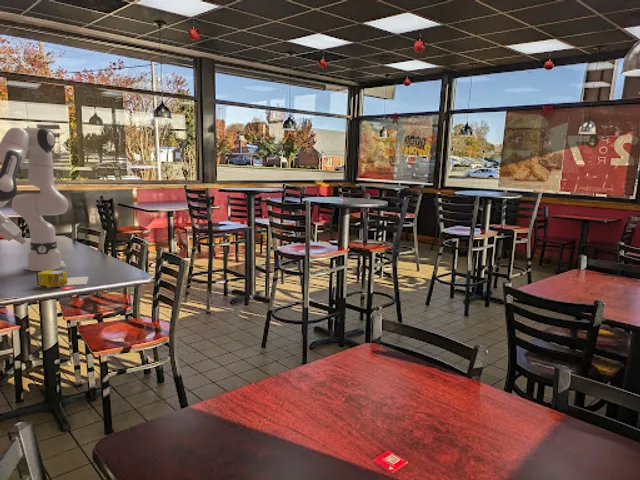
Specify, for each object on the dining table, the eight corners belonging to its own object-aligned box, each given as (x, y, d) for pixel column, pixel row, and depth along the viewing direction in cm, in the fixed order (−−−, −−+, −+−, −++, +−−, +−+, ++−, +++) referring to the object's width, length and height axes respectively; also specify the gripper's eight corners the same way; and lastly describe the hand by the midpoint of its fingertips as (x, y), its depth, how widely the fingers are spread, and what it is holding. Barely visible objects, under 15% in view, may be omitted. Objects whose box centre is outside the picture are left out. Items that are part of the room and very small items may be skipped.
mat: (51, 280, 224) (51, 278, 224) (88, 277, 230) (88, 276, 230) (46, 287, 211) (46, 286, 211) (86, 284, 217) (86, 283, 217)
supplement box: (37, 285, 212) (59, 287, 211) (35, 272, 211) (57, 274, 210) (46, 282, 218) (68, 283, 217) (45, 269, 217) (66, 270, 216)
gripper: (-2, 218, 197) (27, 241, 203) (6, 214, 216) (32, 235, 221) (-14, 229, 196) (15, 251, 202) (-5, 224, 214) (22, 244, 220)
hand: (24, 243), depth 212 cm, fingers closed
